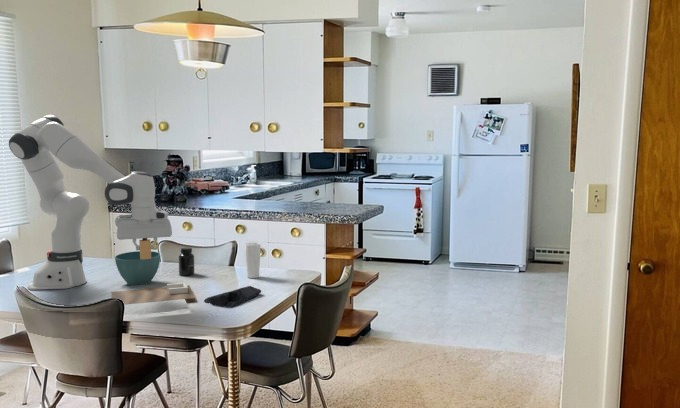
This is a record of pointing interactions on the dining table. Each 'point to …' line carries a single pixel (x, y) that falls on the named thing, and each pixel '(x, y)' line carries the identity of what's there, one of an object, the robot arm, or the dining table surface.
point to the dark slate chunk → (233, 297)
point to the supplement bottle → (186, 262)
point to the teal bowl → (137, 267)
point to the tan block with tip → (145, 248)
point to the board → (152, 295)
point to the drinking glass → (252, 259)
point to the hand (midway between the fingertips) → (145, 249)
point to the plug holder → (177, 288)
